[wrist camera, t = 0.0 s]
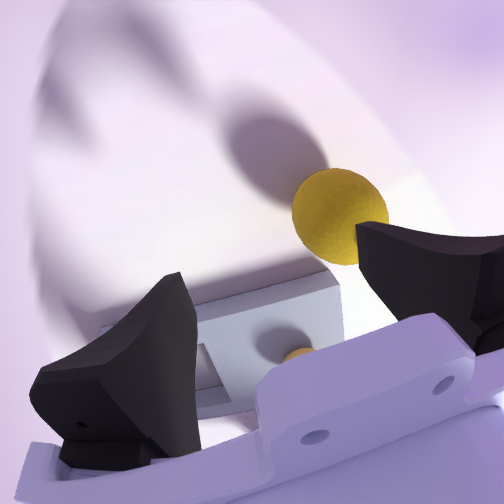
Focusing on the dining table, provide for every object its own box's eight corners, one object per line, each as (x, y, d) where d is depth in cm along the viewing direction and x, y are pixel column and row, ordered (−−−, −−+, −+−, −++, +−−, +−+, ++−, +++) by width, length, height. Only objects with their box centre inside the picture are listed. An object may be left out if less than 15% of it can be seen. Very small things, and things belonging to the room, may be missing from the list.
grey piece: (338, 367, 29) (353, 398, 25) (157, 408, 29) (153, 440, 25) (329, 269, 24) (349, 298, 20) (101, 327, 24) (87, 360, 20)
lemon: (267, 217, 22) (294, 269, 14) (301, 147, 20) (349, 163, 13) (331, 244, 23) (378, 299, 16) (364, 180, 21) (428, 213, 14)
